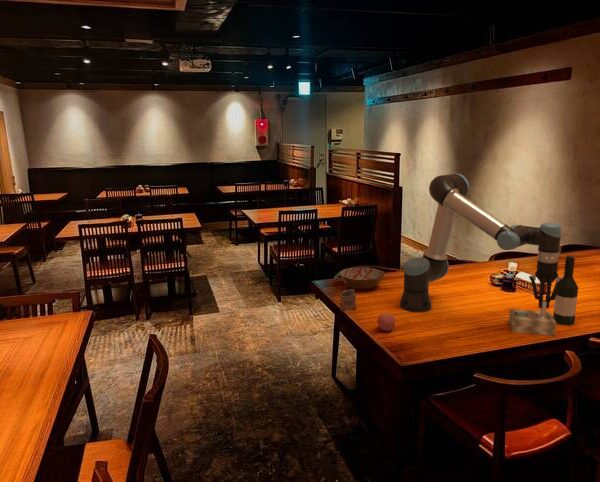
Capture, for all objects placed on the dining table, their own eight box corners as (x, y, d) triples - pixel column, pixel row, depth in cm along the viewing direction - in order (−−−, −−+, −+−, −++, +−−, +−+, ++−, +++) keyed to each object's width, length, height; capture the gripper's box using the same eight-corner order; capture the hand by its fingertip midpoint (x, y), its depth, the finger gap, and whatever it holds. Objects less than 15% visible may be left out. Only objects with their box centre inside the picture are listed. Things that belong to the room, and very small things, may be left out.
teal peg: (516, 328, 198) (517, 315, 197) (514, 324, 202) (516, 311, 201) (526, 328, 197) (527, 316, 196) (525, 325, 201) (526, 312, 200)
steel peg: (536, 329, 196) (538, 316, 195) (535, 326, 200) (536, 313, 198) (547, 330, 195) (548, 317, 193) (545, 327, 198) (546, 314, 197)
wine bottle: (555, 316, 210) (561, 252, 204) (576, 321, 205) (583, 255, 199) (550, 322, 204) (557, 256, 198) (572, 327, 199) (579, 259, 193)
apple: (398, 329, 200) (398, 312, 199) (389, 335, 195) (389, 317, 193) (383, 325, 205) (383, 308, 204) (374, 330, 200) (374, 313, 198)
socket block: (512, 332, 195) (513, 318, 194) (508, 321, 206) (509, 308, 205) (554, 336, 190) (556, 322, 189) (548, 325, 202) (550, 312, 200)
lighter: (341, 311, 223) (341, 291, 220) (339, 309, 226) (338, 289, 224) (357, 309, 225) (357, 290, 222) (354, 307, 228) (354, 288, 226)
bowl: (393, 290, 253) (393, 276, 251) (352, 296, 244) (352, 282, 242) (369, 278, 276) (370, 265, 274) (331, 283, 267) (331, 270, 265)
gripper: (531, 262, 189) (527, 317, 194) (567, 264, 185) (562, 319, 190) (528, 258, 196) (524, 310, 201) (563, 259, 192) (558, 313, 197)
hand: (542, 315), depth 196 cm, fingers closed
